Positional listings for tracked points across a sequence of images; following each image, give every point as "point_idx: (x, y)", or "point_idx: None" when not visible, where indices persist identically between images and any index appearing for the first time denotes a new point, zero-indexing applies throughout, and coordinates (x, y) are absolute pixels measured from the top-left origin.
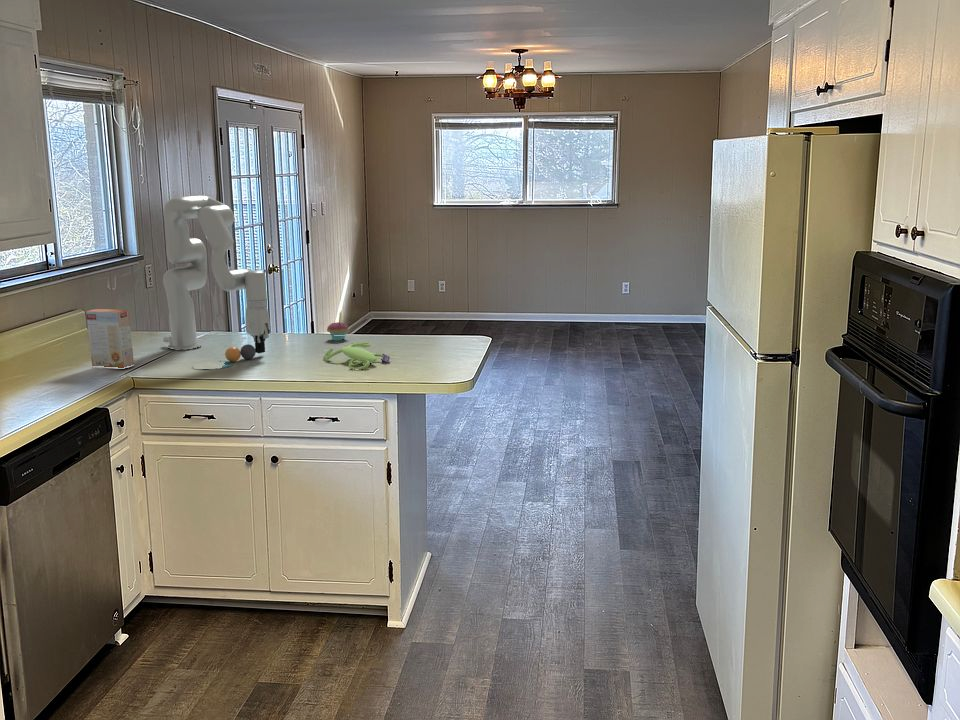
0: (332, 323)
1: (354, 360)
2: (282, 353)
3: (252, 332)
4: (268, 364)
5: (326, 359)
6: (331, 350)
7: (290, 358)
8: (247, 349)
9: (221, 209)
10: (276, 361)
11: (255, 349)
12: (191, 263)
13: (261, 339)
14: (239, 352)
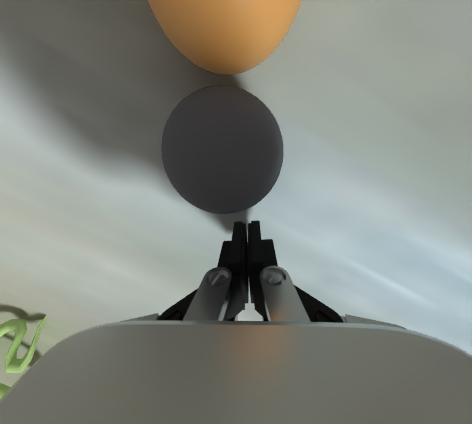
0: None
1: None
2: None
3: (232, 355)
4: (38, 160)
5: (21, 319)
6: (9, 362)
7: (123, 277)
8: (164, 129)
9: None
10: (93, 219)
11: (258, 229)
12: None
13: (182, 303)
14: (161, 25)
